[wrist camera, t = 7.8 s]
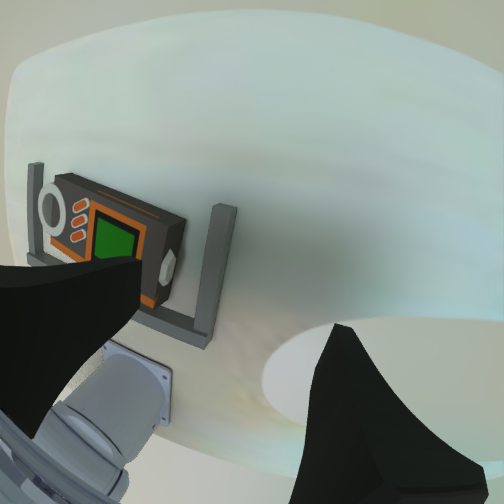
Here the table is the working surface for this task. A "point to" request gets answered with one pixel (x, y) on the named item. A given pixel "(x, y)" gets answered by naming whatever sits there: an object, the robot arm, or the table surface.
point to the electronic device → (112, 230)
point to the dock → (158, 319)
